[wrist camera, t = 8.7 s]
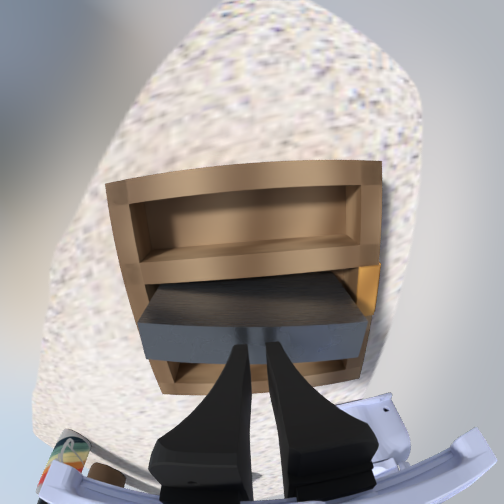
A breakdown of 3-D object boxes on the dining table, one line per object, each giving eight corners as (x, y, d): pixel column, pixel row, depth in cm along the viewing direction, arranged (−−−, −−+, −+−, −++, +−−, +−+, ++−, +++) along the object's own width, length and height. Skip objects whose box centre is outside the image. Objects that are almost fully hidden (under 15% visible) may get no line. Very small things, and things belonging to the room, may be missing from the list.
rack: (362, 160, 18) (387, 161, 14) (350, 353, 23) (363, 379, 20) (127, 179, 18) (103, 184, 14) (170, 368, 23) (162, 395, 20)
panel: (331, 271, 20) (368, 321, 13) (327, 300, 20) (358, 357, 14) (169, 270, 19) (137, 322, 13) (172, 300, 20) (146, 359, 13)
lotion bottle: (87, 436, 29) (53, 528, 10) (95, 450, 31) (67, 535, 12) (59, 423, 29) (21, 509, 10) (68, 439, 30) (36, 518, 11)
